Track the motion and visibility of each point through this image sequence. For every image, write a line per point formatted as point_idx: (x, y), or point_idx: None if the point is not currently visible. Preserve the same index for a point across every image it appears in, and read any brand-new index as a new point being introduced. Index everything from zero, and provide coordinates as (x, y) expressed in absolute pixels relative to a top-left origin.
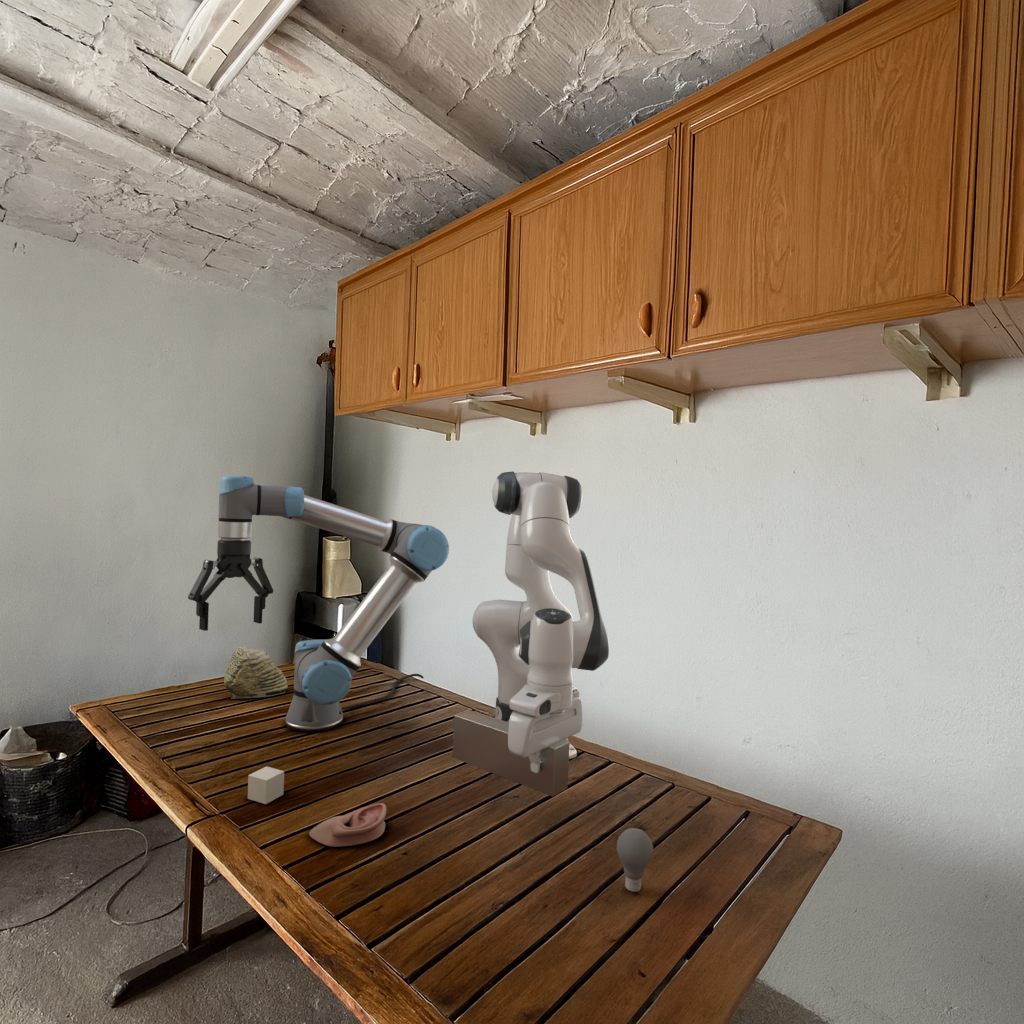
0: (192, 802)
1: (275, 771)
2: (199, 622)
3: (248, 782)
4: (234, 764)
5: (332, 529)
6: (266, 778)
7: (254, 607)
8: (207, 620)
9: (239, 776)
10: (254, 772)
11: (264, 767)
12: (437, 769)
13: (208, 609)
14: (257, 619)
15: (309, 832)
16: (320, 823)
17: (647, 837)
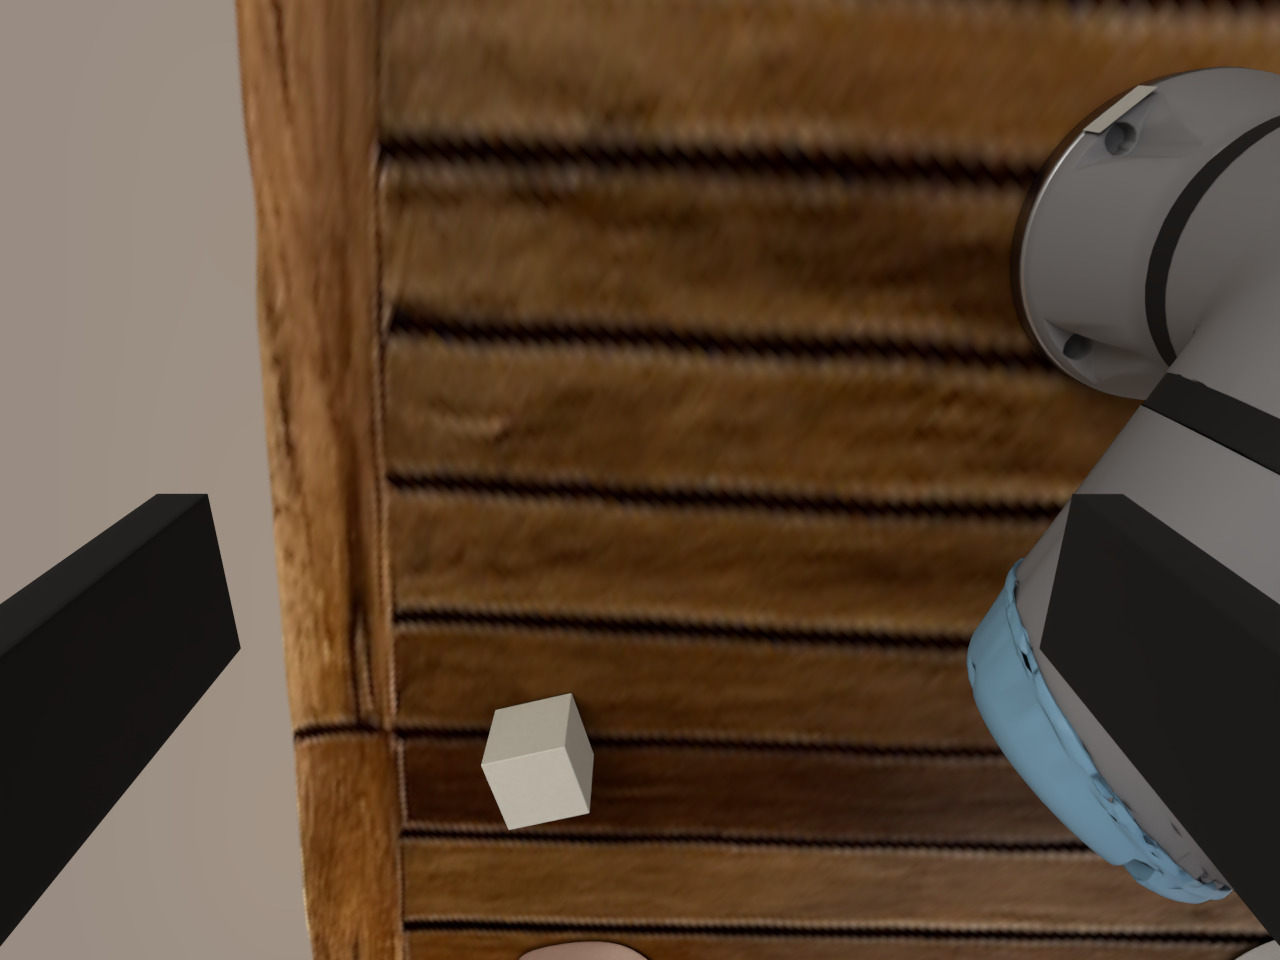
0: (349, 619)
1: (565, 798)
2: (93, 539)
3: (486, 748)
4: (593, 440)
5: None
6: (514, 820)
7: (1236, 649)
8: (146, 750)
9: (554, 550)
10: (506, 762)
11: (553, 751)
12: (1044, 915)
13: (23, 915)
14: (1079, 631)
15: (522, 957)
16: (560, 958)
17: None
